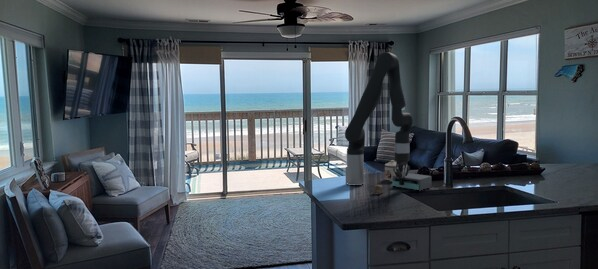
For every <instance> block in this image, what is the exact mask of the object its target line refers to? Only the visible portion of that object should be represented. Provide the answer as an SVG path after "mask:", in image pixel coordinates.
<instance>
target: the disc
mask: <svg viewBox="0 0 598 269" xmlns="http://www.w3.org/2000/svg"><path fill="white" fill-rule="evenodd" d="M404 182H406V183H413V184H417V181H413V180H405V181H404Z"/></svg>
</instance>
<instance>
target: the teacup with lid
mask: <svg viewBox="0 0 598 269" xmlns="http://www.w3.org/2000/svg"><path fill="white" fill-rule="evenodd" d="M396 163H397V162H396V161H395V160H394V159H391V160H390V161H389V162H387V163H385V164H384V180H385V179H386V180H393V176H395V172H394V170H393V169H394V168H396ZM386 180H385V181H386Z"/></svg>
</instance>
